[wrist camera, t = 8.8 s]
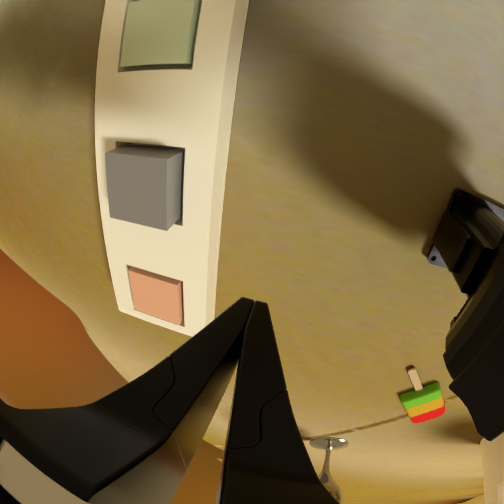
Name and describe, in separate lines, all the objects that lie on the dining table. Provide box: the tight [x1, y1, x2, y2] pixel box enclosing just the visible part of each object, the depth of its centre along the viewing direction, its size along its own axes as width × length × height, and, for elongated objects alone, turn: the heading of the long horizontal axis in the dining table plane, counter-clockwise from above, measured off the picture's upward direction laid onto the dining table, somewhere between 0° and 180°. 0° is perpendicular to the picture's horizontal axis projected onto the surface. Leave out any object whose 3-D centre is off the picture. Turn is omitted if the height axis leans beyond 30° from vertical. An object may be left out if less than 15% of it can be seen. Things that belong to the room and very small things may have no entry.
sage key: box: [120, 0, 202, 67], centre depth 14 cm, size 5×5×2 cm
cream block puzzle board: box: [95, 0, 249, 337], centre depth 20 cm, size 10×30×3 cm, turn 172°
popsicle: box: [400, 368, 445, 423], centre depth 29 cm, size 6×15×2 cm, turn 36°
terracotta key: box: [128, 266, 184, 325], centre depth 26 cm, size 5×5×2 cm
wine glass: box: [310, 438, 349, 504], centre depth 35 cm, size 8×8×15 cm
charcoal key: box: [105, 144, 185, 231], centre depth 19 cm, size 5×5×2 cm
